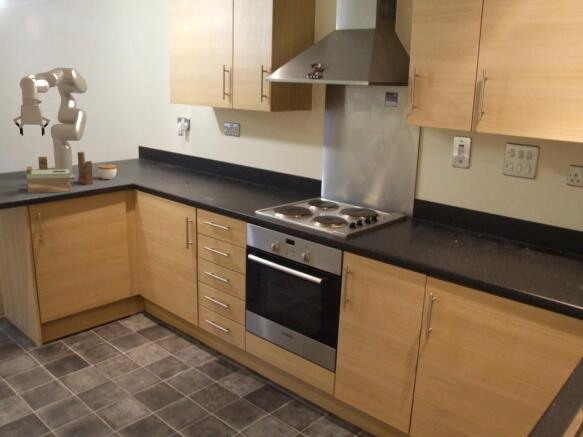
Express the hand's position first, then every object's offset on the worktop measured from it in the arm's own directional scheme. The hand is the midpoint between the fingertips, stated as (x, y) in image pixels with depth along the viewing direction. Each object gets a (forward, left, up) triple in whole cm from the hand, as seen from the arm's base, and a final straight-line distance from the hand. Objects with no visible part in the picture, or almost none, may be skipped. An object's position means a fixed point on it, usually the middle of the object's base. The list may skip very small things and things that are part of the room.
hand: (32, 135), depth 279 cm
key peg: (-4, +4, -28) cm, 29 cm away
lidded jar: (-20, +38, -28) cm, 51 cm away
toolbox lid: (+10, +7, -20) cm, 23 cm away
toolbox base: (+10, +7, -28) cm, 31 cm away
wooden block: (-4, +25, -28) cm, 38 cm away
